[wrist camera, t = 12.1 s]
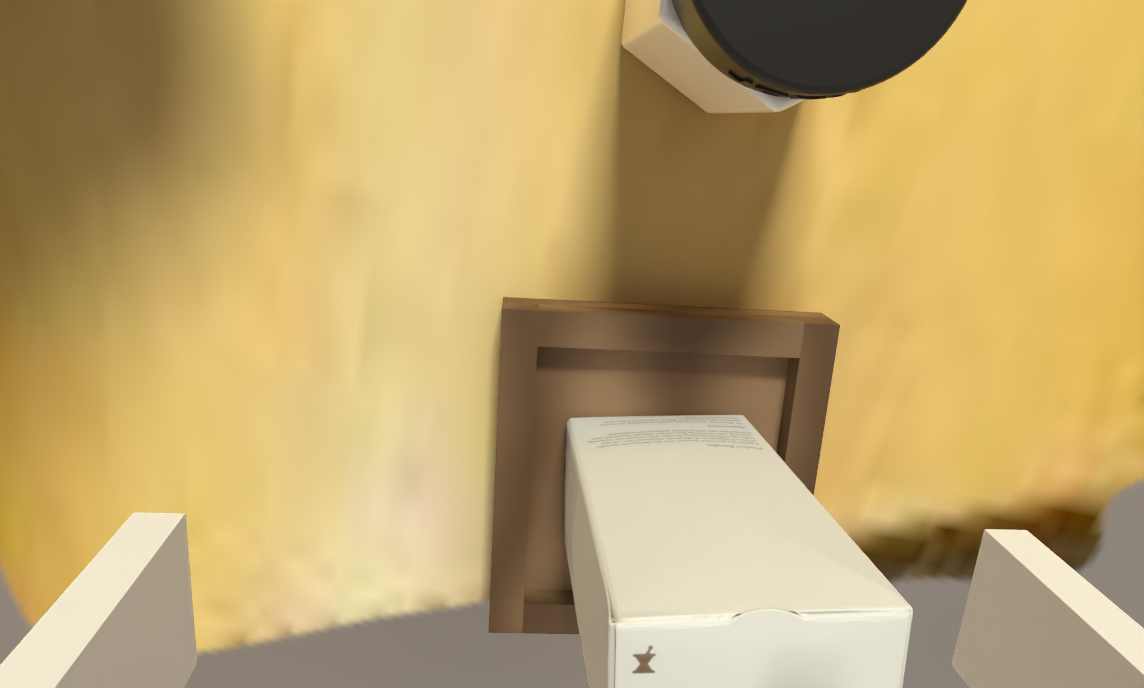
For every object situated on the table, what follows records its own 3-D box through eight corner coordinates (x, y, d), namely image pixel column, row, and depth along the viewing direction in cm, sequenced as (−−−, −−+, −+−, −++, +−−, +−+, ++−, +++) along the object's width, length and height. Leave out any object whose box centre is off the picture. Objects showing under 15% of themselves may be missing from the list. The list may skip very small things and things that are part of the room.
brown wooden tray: (490, 604, 39) (488, 632, 37) (503, 297, 35) (502, 308, 33) (777, 610, 40) (791, 637, 38) (820, 312, 36) (839, 325, 34)
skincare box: (562, 541, 37) (590, 830, 22) (564, 405, 35) (597, 617, 20) (743, 539, 38) (891, 819, 23) (754, 404, 36) (923, 611, 21)
